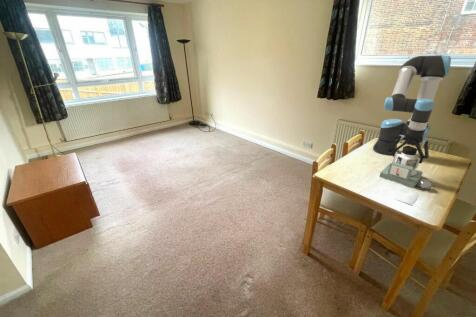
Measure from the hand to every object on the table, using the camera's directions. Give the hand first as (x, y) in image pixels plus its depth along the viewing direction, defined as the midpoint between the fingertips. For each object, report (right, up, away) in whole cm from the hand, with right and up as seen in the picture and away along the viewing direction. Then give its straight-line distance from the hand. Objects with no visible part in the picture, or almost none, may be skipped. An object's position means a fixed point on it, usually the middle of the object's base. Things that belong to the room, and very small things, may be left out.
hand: (404, 164), depth 131 cm
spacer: (+3, -13, -9) cm, 16 cm away
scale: (-1, -7, +2) cm, 8 cm away
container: (0, -2, +1) cm, 2 cm away
